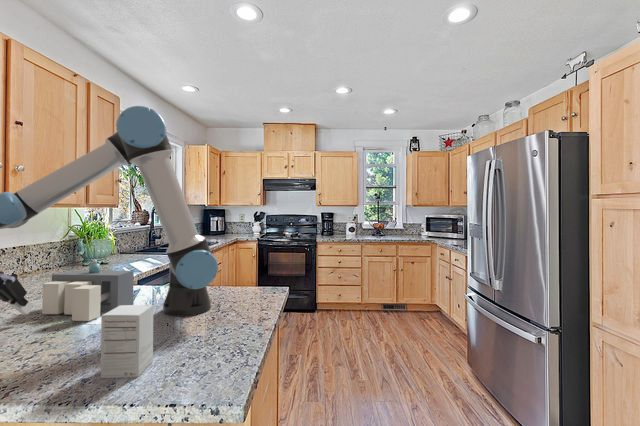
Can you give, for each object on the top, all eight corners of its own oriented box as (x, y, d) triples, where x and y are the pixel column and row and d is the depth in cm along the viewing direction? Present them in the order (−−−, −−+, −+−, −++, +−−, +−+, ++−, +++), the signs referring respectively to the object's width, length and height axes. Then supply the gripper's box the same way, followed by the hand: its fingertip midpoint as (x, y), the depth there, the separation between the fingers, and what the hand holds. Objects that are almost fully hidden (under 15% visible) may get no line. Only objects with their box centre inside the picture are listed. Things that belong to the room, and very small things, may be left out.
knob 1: (88, 302, 116) (88, 276, 116) (58, 314, 102) (58, 284, 102) (73, 302, 116) (74, 276, 116) (42, 314, 102) (42, 283, 102)
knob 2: (116, 308, 110) (117, 280, 110) (88, 320, 96) (89, 288, 96) (101, 308, 110) (102, 279, 110) (72, 320, 96) (72, 288, 96)
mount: (133, 304, 117) (133, 270, 117) (107, 316, 102) (107, 278, 102) (71, 303, 117) (72, 269, 117) (37, 315, 102) (38, 277, 102)
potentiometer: (101, 271, 114) (101, 259, 114) (95, 273, 111) (96, 260, 111) (93, 271, 114) (93, 259, 114) (87, 273, 111) (87, 260, 111)
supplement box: (118, 362, 71) (119, 304, 71) (153, 361, 72) (154, 304, 72) (98, 379, 64) (100, 314, 64) (138, 378, 64) (139, 314, 65)
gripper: (-73, 272, 76) (-4, 321, 93) (-18, 274, 76) (41, 322, 92) (-46, 248, 82) (15, 298, 98) (5, 249, 81) (57, 299, 98)
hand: (28, 310), depth 95 cm, fingers closed
